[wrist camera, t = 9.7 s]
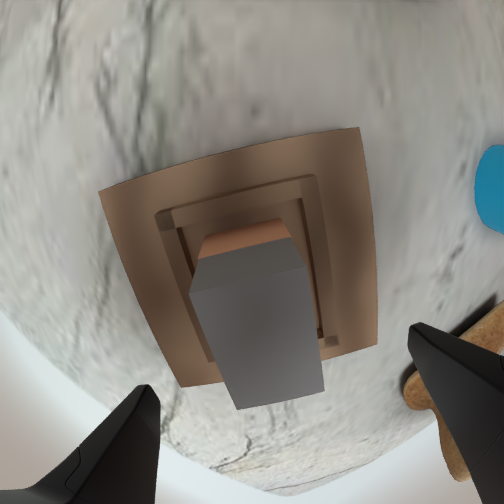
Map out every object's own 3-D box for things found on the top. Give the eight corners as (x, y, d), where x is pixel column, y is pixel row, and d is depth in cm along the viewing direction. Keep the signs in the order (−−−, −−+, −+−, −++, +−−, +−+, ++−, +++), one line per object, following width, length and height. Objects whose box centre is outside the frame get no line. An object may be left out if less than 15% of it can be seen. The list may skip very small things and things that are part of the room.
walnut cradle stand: (344, 128, 18) (367, 126, 14) (366, 326, 23) (383, 353, 20) (113, 185, 18) (89, 195, 15) (184, 367, 24) (179, 398, 20)
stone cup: (410, 416, 29) (453, 502, 15) (390, 371, 26) (454, 487, 12) (497, 350, 27) (555, 417, 13) (496, 289, 23) (583, 364, 9)
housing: (300, 316, 19) (325, 391, 13) (235, 331, 20) (236, 410, 13) (280, 217, 17) (307, 264, 10) (204, 235, 17) (187, 292, 11)
